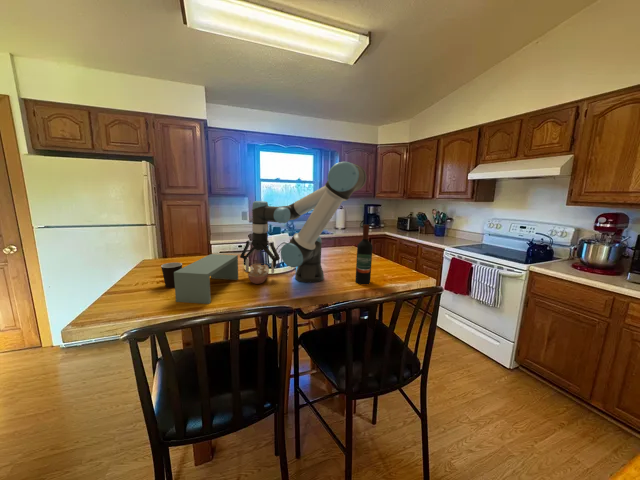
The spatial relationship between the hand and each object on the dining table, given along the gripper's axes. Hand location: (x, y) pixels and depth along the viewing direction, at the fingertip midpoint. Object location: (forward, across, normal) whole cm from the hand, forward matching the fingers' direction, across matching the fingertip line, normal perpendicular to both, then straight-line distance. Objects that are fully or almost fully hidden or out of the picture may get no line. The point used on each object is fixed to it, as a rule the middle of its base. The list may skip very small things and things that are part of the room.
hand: (259, 272), depth 140 cm
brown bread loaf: (+4, 0, 0) cm, 4 cm away
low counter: (+4, +18, +18) cm, 25 cm away
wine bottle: (+2, -54, -3) cm, 54 cm away
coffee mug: (+4, +36, +15) cm, 40 cm away
